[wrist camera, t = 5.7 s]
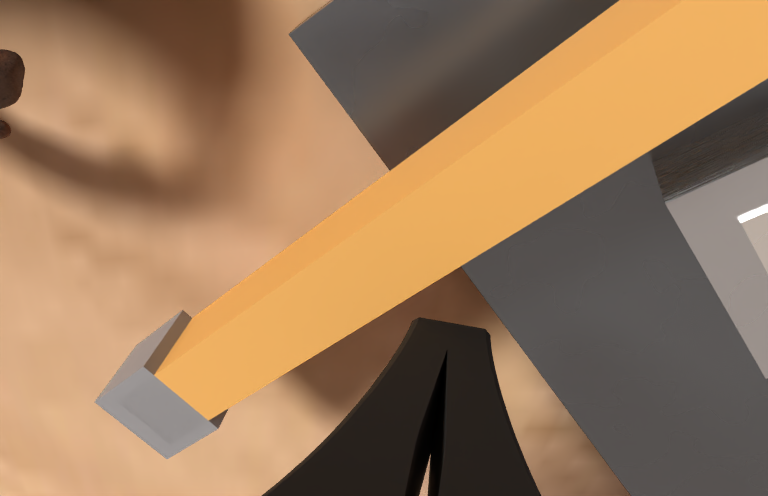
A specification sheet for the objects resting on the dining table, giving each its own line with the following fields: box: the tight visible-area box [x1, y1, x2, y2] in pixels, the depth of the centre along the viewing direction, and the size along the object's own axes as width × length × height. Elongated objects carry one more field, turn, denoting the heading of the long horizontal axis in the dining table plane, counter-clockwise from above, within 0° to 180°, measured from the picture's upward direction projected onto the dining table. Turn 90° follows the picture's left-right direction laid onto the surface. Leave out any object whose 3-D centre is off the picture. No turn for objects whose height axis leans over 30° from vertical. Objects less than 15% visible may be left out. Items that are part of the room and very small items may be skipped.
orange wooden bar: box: [95, 0, 768, 459], centre depth 13 cm, size 18×3×2 cm, turn 132°
